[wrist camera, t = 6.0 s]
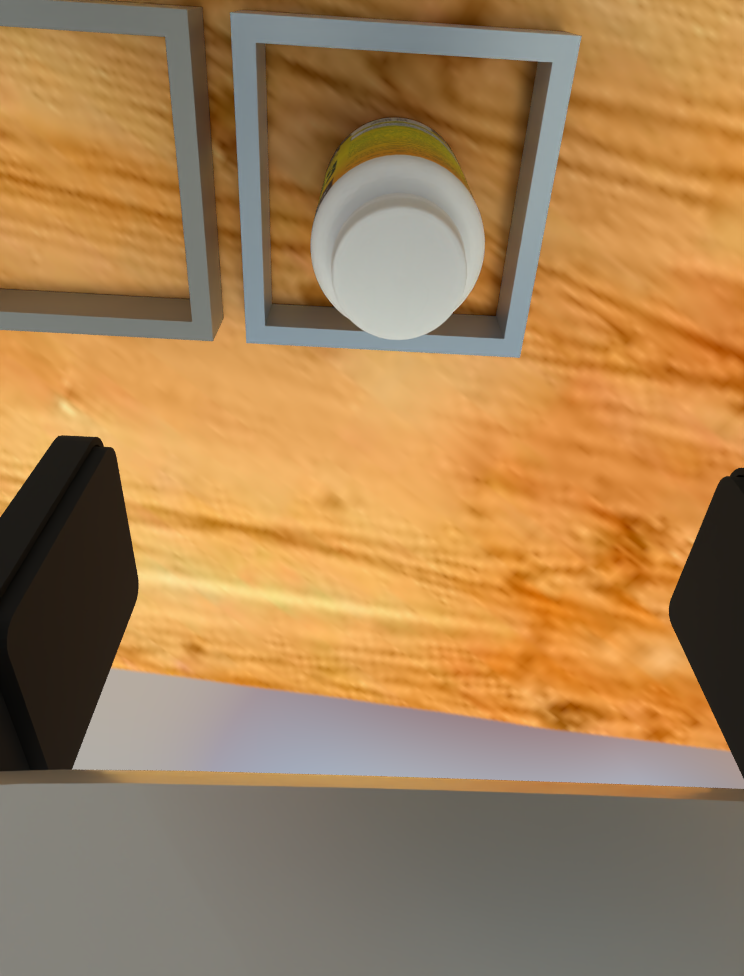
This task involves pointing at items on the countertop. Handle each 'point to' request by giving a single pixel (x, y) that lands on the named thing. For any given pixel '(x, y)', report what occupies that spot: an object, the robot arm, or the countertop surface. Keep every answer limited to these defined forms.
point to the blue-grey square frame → (531, 196)
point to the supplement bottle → (396, 230)
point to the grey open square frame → (81, 8)
